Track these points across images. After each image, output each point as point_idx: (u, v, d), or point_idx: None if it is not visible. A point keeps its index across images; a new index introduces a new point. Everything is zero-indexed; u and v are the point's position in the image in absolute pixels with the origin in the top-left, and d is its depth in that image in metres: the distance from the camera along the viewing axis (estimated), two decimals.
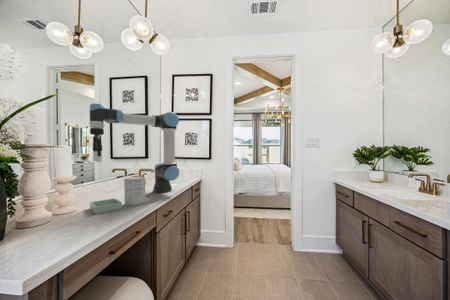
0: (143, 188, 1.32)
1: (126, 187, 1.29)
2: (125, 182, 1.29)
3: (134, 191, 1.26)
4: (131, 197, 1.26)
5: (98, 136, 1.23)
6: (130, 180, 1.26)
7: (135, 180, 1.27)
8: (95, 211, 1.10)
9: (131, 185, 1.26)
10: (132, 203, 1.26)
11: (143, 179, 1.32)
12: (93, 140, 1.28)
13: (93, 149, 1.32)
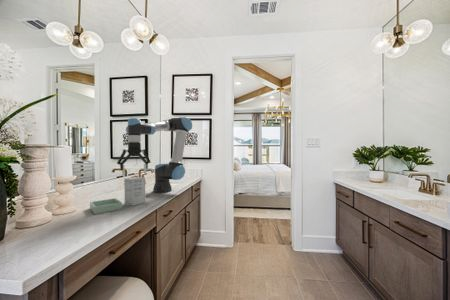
0: (143, 188, 1.32)
1: (126, 187, 1.29)
2: (125, 182, 1.29)
3: (134, 191, 1.26)
4: (131, 197, 1.26)
5: (123, 150, 1.27)
6: (130, 180, 1.26)
7: (135, 180, 1.27)
8: (95, 211, 1.10)
9: (131, 185, 1.26)
10: (132, 203, 1.26)
11: (143, 179, 1.32)
12: None
13: None
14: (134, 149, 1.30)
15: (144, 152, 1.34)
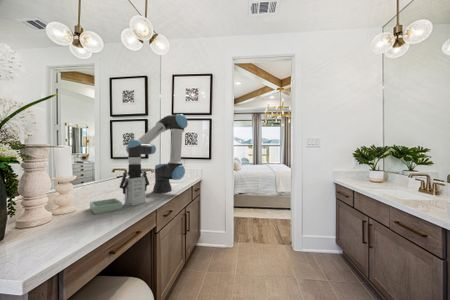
0: (143, 188, 1.32)
1: (126, 187, 1.29)
2: (125, 182, 1.29)
3: (134, 191, 1.26)
4: (131, 197, 1.26)
5: (123, 174, 1.27)
6: (130, 180, 1.26)
7: (135, 180, 1.27)
8: (95, 211, 1.10)
9: (131, 185, 1.26)
10: (132, 203, 1.26)
11: (143, 179, 1.32)
12: None
13: None
14: (134, 171, 1.30)
15: (144, 174, 1.34)
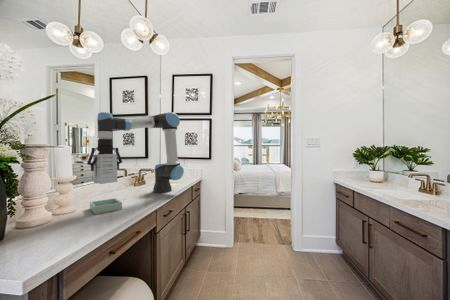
0: (114, 166, 1.20)
1: (95, 164, 1.17)
2: (94, 158, 1.17)
3: (103, 168, 1.14)
4: (99, 175, 1.14)
5: (91, 149, 1.15)
6: (99, 156, 1.15)
7: (104, 156, 1.15)
8: (95, 211, 1.10)
9: (99, 161, 1.14)
10: (101, 181, 1.14)
11: (114, 156, 1.20)
12: None
13: None
14: (105, 146, 1.18)
15: (116, 150, 1.22)
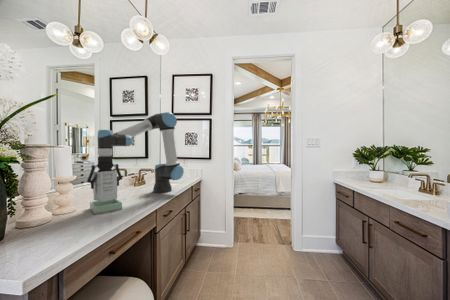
0: (114, 183, 1.20)
1: (95, 181, 1.17)
2: None
3: (103, 186, 1.14)
4: (99, 193, 1.14)
5: (91, 166, 1.15)
6: (99, 173, 1.15)
7: (104, 173, 1.15)
8: (95, 211, 1.10)
9: (99, 179, 1.14)
10: (101, 199, 1.14)
11: (114, 173, 1.20)
12: None
13: None
14: (105, 164, 1.18)
15: (116, 167, 1.22)
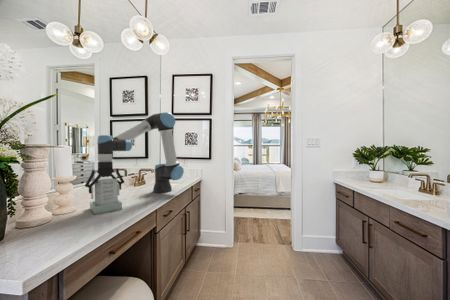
0: (115, 191, 1.20)
1: (96, 189, 1.17)
2: (95, 184, 1.18)
3: (103, 194, 1.14)
4: (100, 201, 1.15)
5: (91, 171, 1.15)
6: (99, 182, 1.15)
7: (105, 182, 1.15)
8: (95, 211, 1.10)
9: (100, 187, 1.14)
10: None
11: (115, 181, 1.20)
12: None
13: (117, 182, 1.25)
14: (105, 169, 1.18)
15: (117, 172, 1.22)
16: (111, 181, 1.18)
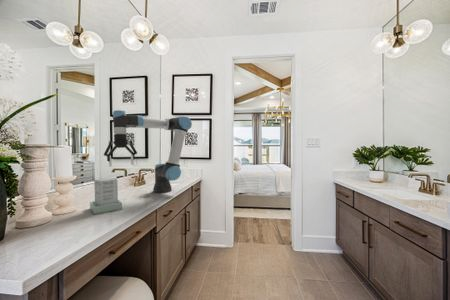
0: (115, 191, 1.20)
1: (96, 189, 1.17)
2: (95, 184, 1.18)
3: (103, 194, 1.14)
4: (100, 201, 1.15)
5: (109, 142, 1.30)
6: (99, 182, 1.15)
7: (105, 182, 1.15)
8: (95, 211, 1.10)
9: (100, 187, 1.15)
10: None
11: (115, 181, 1.20)
12: None
13: None
14: (120, 141, 1.34)
15: (130, 143, 1.38)
16: (111, 181, 1.18)
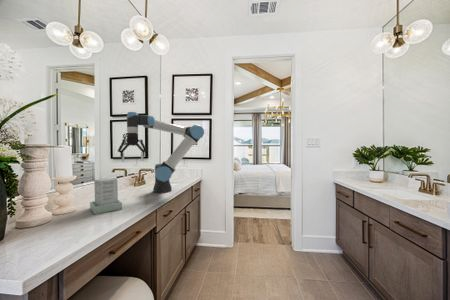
0: (115, 191, 1.20)
1: (96, 189, 1.17)
2: (95, 184, 1.18)
3: (103, 194, 1.14)
4: (100, 201, 1.15)
5: (122, 140, 1.46)
6: (99, 182, 1.15)
7: (105, 182, 1.15)
8: (95, 211, 1.10)
9: (100, 187, 1.14)
10: None
11: (115, 181, 1.20)
12: None
13: (141, 150, 1.56)
14: (132, 139, 1.49)
15: (141, 142, 1.54)
16: (111, 181, 1.18)
